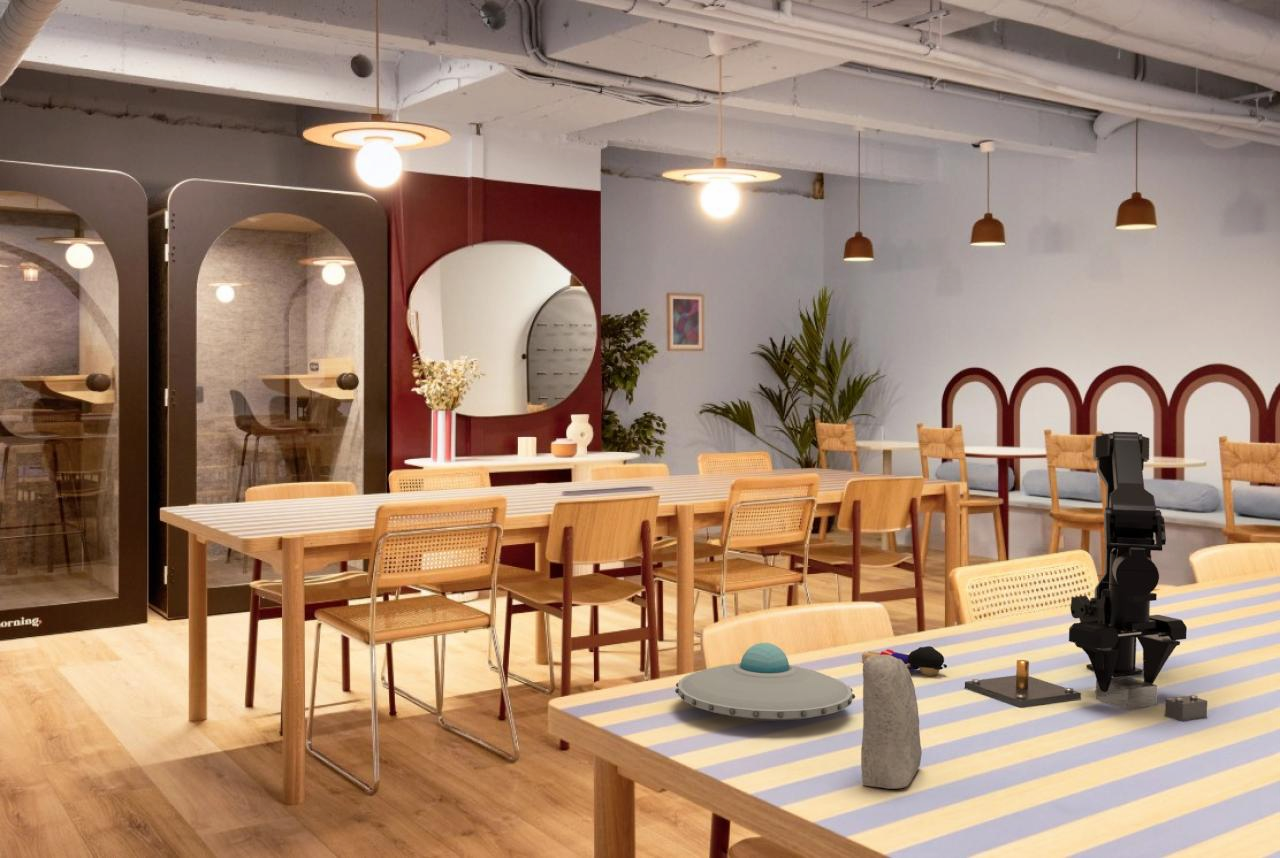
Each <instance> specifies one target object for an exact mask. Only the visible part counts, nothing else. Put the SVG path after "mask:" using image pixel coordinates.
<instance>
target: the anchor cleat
mask: <svg viewBox="0 0 1280 858" xmlns="http://www.w3.org/2000/svg"><path fill="white" fill-rule="evenodd" d="M1164 702H1165V704H1164V716H1165V717H1168V718H1171V719H1175V720H1177V721H1181V722H1185V721H1192V720H1196V719H1197V720H1198V719H1205V718H1207V717H1208V700H1206V699H1202V698H1199V697H1198V695H1194V694H1189V695H1184V696H1176V697H1171V698H1165V701H1164Z"/></svg>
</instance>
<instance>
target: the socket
mask: <svg viewBox="0 0 1280 858" xmlns="http://www.w3.org/2000/svg"><path fill="white" fill-rule="evenodd" d="M1157 697H1158V685H1157V684H1154V683H1153V684H1151V683H1147V682H1144V680H1139V679H1138V678H1137V679H1136V678H1133V677H1129V676H1126V675H1120V676H1115V677H1112V679H1111V683H1110V686H1109V689H1108V691H1107V692H1103V691H1101V690H1100V688H1099V685H1098V682H1097V679H1096V680H1095V700H1097V701H1100V702H1102V703H1105V704H1109V705H1112V706H1115V707H1118V708H1121V709H1125V710H1134V709H1135V710H1136V709H1141V708H1148V707H1153V706H1154V707H1155V706H1157Z"/></svg>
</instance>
